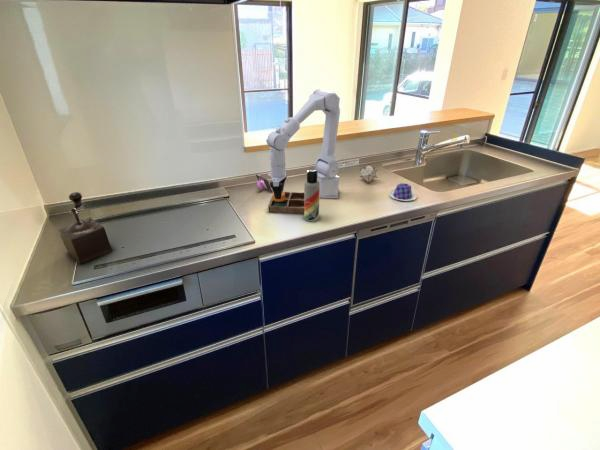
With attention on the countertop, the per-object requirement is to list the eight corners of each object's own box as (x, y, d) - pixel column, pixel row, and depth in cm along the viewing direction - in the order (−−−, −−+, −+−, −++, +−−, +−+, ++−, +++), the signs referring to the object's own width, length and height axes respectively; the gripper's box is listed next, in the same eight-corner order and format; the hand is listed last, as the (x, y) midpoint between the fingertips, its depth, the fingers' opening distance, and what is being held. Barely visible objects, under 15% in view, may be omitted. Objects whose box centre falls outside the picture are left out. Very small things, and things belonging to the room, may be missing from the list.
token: (285, 196, 142) (285, 191, 141) (284, 201, 138) (283, 196, 136) (274, 196, 142) (273, 190, 141) (272, 201, 138) (271, 195, 137)
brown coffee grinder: (115, 249, 116) (99, 201, 107) (80, 265, 108) (60, 214, 100) (94, 234, 124) (78, 189, 115) (60, 248, 117) (40, 200, 108)
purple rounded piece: (268, 179, 152) (257, 173, 158) (259, 185, 150) (248, 179, 156) (273, 190, 157) (262, 184, 163) (264, 197, 155) (253, 190, 161)
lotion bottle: (308, 223, 132) (309, 173, 122) (301, 216, 136) (301, 168, 126) (321, 219, 134) (323, 171, 124) (314, 213, 138) (315, 166, 128)
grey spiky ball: (364, 186, 171) (365, 167, 172) (380, 184, 165) (381, 164, 166) (355, 182, 164) (356, 162, 165) (371, 180, 158) (372, 159, 160)
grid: (307, 198, 151) (308, 192, 150) (305, 214, 138) (305, 208, 137) (274, 196, 152) (274, 191, 151) (268, 212, 139) (268, 206, 138)
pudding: (404, 189, 159) (406, 178, 157) (422, 199, 150) (424, 188, 147) (383, 193, 155) (384, 182, 152) (399, 204, 145) (401, 193, 143)
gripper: (270, 157, 139) (272, 188, 146) (264, 170, 127) (266, 203, 133) (288, 157, 139) (288, 188, 145) (283, 170, 126) (284, 204, 133)
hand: (279, 195), depth 139 cm, fingers closed on token, 5 cm apart
